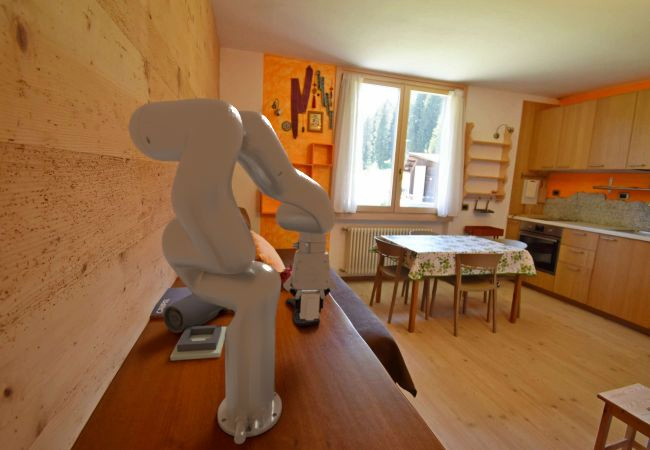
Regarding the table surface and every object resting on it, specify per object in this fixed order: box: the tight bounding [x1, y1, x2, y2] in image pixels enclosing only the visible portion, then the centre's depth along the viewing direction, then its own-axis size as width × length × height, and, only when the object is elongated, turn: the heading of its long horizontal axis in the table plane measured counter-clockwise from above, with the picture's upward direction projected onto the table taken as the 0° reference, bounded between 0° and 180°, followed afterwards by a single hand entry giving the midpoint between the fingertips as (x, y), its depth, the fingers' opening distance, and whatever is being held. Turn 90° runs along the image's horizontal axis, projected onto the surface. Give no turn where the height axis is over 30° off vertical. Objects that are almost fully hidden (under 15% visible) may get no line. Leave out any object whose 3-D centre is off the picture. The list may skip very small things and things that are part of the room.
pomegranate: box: [279, 263, 293, 287], centre depth 133 cm, size 10×10×9 cm
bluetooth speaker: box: [163, 293, 226, 333], centre depth 97 cm, size 23×9×10 cm, turn 159°
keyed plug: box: [299, 290, 320, 320], centre depth 83 cm, size 5×5×7 cm
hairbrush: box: [286, 297, 321, 327], centre depth 106 cm, size 8×4×25 cm
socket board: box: [169, 324, 227, 361], centre depth 84 cm, size 14×12×3 cm
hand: (308, 310), depth 84 cm, fingers closed on keyed plug, 4 cm apart
